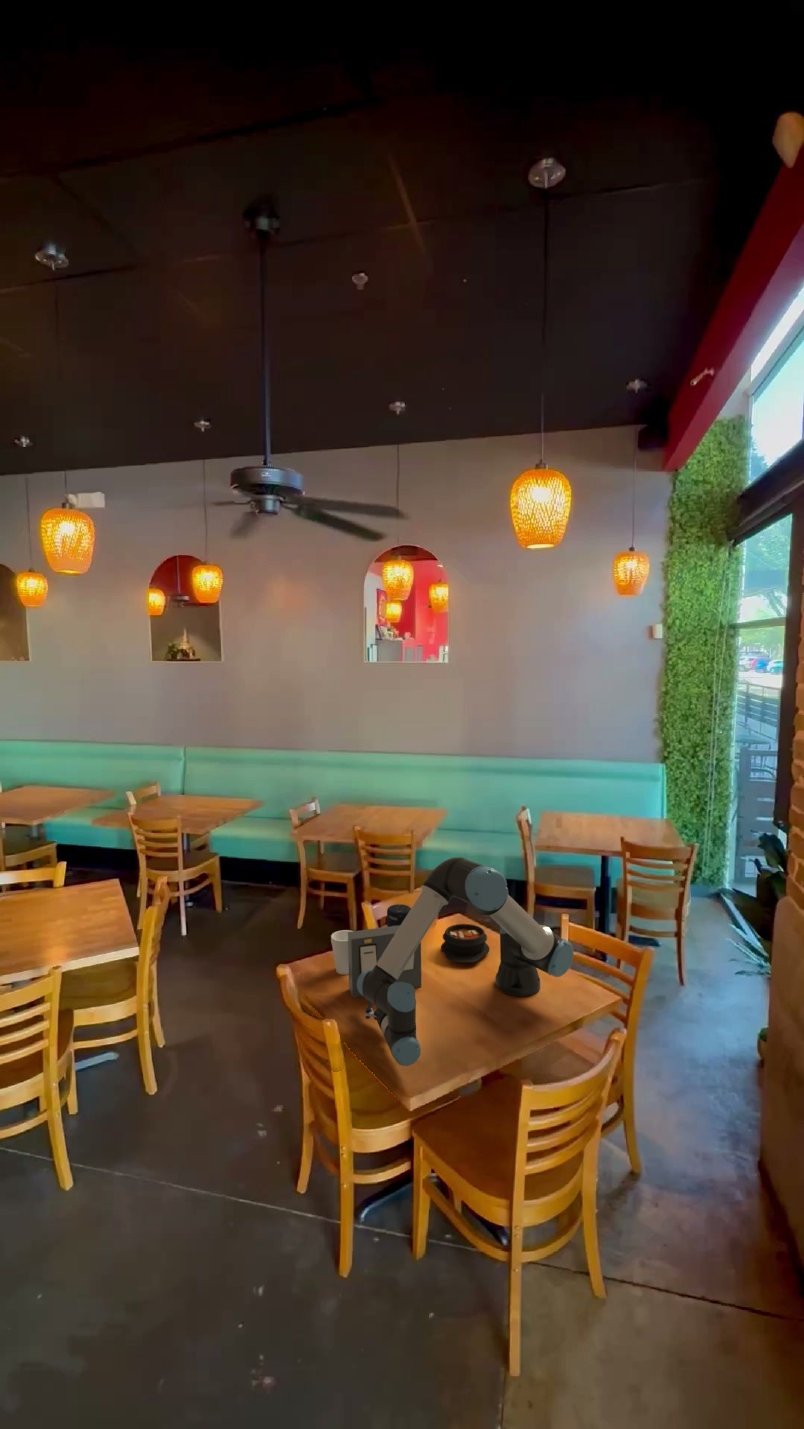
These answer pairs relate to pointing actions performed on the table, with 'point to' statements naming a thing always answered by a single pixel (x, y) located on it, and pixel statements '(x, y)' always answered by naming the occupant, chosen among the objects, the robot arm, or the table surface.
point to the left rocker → (368, 957)
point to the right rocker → (410, 963)
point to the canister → (397, 914)
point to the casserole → (464, 943)
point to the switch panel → (378, 955)
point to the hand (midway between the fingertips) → (373, 984)
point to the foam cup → (341, 951)
